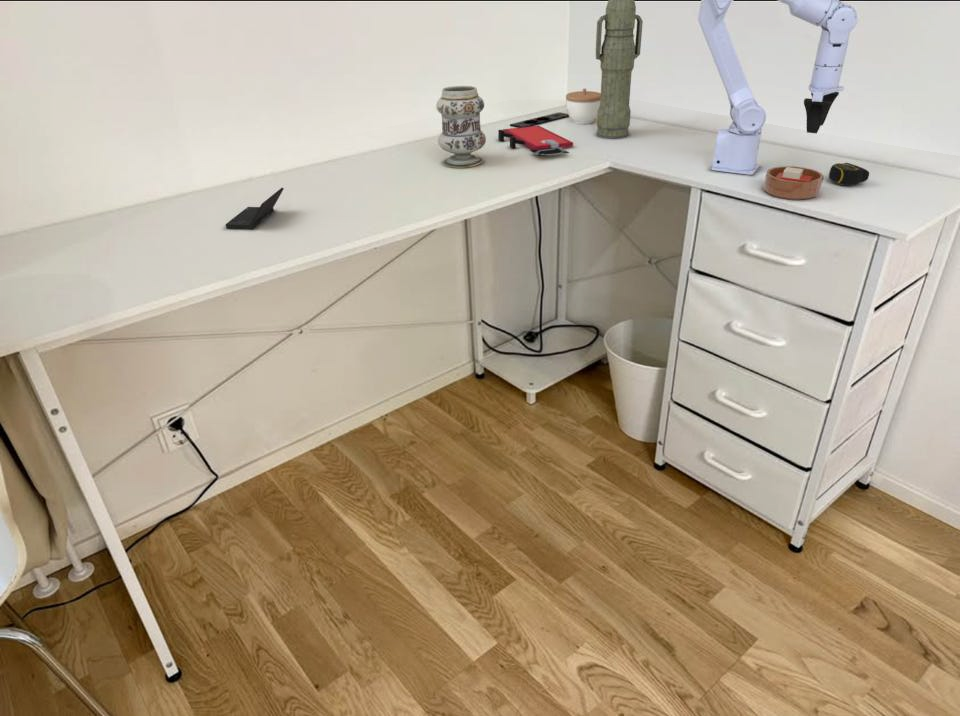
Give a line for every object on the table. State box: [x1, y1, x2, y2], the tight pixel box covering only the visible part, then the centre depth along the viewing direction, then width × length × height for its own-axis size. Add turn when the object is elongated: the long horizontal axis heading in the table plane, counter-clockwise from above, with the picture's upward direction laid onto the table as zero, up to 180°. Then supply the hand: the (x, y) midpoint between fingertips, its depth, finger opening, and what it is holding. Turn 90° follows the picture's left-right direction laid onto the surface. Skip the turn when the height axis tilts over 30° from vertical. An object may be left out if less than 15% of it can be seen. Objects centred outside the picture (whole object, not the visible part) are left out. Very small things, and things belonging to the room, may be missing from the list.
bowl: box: [763, 165, 824, 201], centre depth 149 cm, size 11×11×4 cm
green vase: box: [595, 0, 644, 140], centre depth 187 cm, size 9×12×35 cm
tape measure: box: [828, 162, 870, 186], centre depth 153 cm, size 7×7×4 cm
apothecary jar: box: [435, 85, 487, 169], centre depth 173 cm, size 12×12×18 cm
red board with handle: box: [497, 125, 574, 157], centre depth 189 cm, size 30×3×15 cm
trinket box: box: [565, 88, 601, 125], centre depth 208 cm, size 11×11×9 cm
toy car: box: [776, 167, 813, 181], centre depth 149 cm, size 7×4×4 cm, turn 59°
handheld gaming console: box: [225, 187, 285, 230], centre depth 145 cm, size 12×7×10 cm
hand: (814, 128), depth 158 cm, fingers open, 7 cm apart
